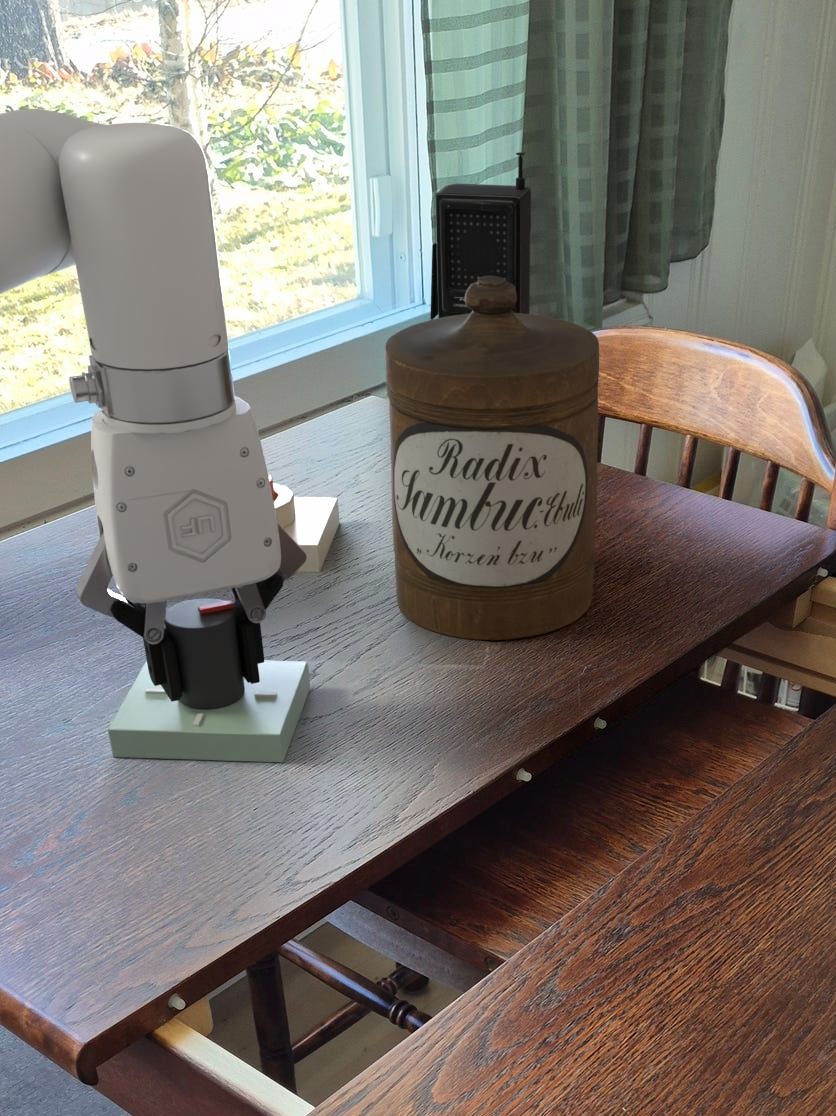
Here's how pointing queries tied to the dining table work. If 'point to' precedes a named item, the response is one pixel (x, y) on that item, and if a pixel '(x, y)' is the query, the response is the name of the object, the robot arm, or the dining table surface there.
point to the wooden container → (493, 468)
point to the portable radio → (480, 242)
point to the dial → (206, 652)
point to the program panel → (213, 720)
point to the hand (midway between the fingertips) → (209, 680)
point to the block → (307, 524)
